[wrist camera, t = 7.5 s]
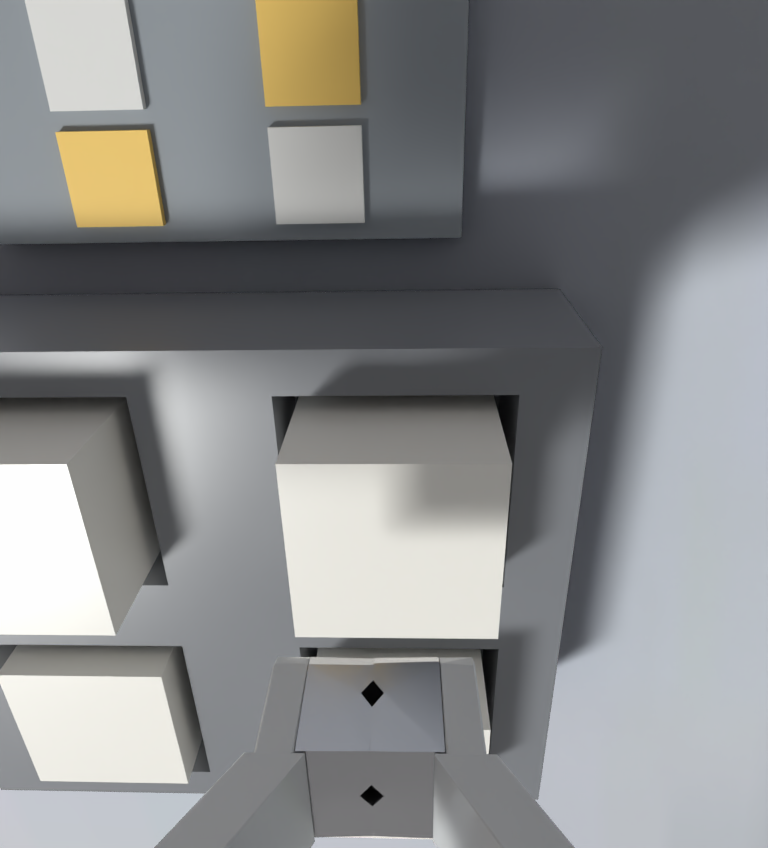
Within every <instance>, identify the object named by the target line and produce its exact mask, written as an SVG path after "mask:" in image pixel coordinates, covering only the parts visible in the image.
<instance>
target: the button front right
mask: <svg viewBox="0 0 768 848" xmlns="http://www.w3.org/2000/svg"><path fill="white" fill-rule="evenodd" d="M275 465H276V474H277V483H278V491H279V500H280V509H281V518H282V527H283V535H284V544H285V553H286V562H287V570H288V579H289V588H290V597H291V605H292V614H293V623H294V632H295V637H331V638H444V639H498V633H499V621H500V608H501V596H502V584H503V572H504V559H505V547H506V535H507V522H508V510H509V498H510V485H511V473H512V461H511V457H510V454H509V450H508V446H507V443H506V439H505V436H504V432H503V428H502V425H501V421H500V417H499V414H498V410H497V406H496V403H495V399H494V395H421V396H299V397H298V400H297V403H296V406H295V409H294V412H293V415H292V418H291V421H290V423H289V426H288V429H287V432H286V435H285V438H284V441H283V444H282V447H281V449H280V452H279V455H278V458H277V461H276V464H275Z"/></svg>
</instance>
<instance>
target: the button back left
mask: <svg viewBox="0 0 768 848" xmlns="http://www.w3.org/2000/svg"><path fill="white" fill-rule="evenodd" d="M0 685H1V687H2V690H3V692H4V695H5V697H6V699H7V702H8V704H9V707H10V709H11V711H12V714H13V716H14V719H15V721H16V723H17V726H18V728H19V731H20V733H21V735H22V738H23V740H24V743H25V745H26V747H27V750H28V752H29V755H30V757H31V759H32V762H33V764H34V767H35V769H36V771H37V774H38V776H39V779H40V781H66V782H123V783H179V784H188V783H189V779H190V776H191V773H192V770H193V767H194V763H195V760H196V757H197V754H198V751H199V747H200V744H201V741H202V738H203V737H202V732H201V728H200V723H199V719H198V715H197V710H196V706H195V701H194V697H193V692H192V688H191V683H190V679H189V675H188V670H187V666H186V661H185V657H184V652H183V648H182V646H103V645H17V646H16V648H15V649H14V651H13V652H12V653H11V655H10V656H9V658H8V659H7V661H6V662H5V664H4V665H3V666H2V668H1V669H0Z"/></svg>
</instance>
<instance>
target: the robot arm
mask: <svg viewBox="0 0 768 848" xmlns="http://www.w3.org/2000/svg"><path fill="white" fill-rule="evenodd" d="M349 836H385V837H410V838H433V843H434V844H435V846H436V848H575V847H574V846H573V845H572V844H571V843H570V841H569V840H568V839H567V838H566V837H565V835H564V834H563V833H562V832H561V831H560V829H559V828H558V827H557V826H556V825H555V823H554V822H553V821H552V820H551V819H550V817H549V816H548V815H547V814H546V813H545V811H544V810H543V809H542V808H541V807H540V805H539V804H538V803H537V802H536V801H535V799H534V798H533V797H532V796H531V795H530V793H529V792H528V791H527V790H526V789H525V787H524V786H523V785H522V784H521V783H520V781H519V780H518V779H517V778H516V777H515V775H514V774H513V773H512V772H511V771H510V769H509V768H508V767H507V766H506V765H505V763H504V762H503V761H502V760H501V759H500V757H499V756H498V755H497V754H487V753H486V745H485V738H484V730H483V722H482V715H481V707H480V699H479V692H478V684H477V677H476V669H475V663H474V661H473V659H472V657H458V658H439V659H438V657H420V658H375V659H365V658H330V657H278V658H277V659H276V661H275V663H274V665H273V669H272V674H271V678H270V683H269V687H268V692H267V696H266V701H265V705H264V710H263V714H262V719H261V723H260V728H259V732H258V737H257V741H256V746H255V750H254V752H253V753H243V754H242V755H241V756H240V757H239V758H238V760H237V761H236V762H235V763H234V764H233V765H232V766H231V767H230V768H229V769H228V770H227V771H226V772H225V773H224V774H223V775H222V776H221V778H220V779H219V780H218V781H217V782H216V783H215V784H214V785H213V786H212V787H211V788H210V789H209V790H208V791H207V792H206V793H205V794H204V796H203V797H202V798H201V799H200V800H199V801H198V802H197V803H196V804H195V805H194V806H193V807H192V808H191V809H190V810H189V811H188V813H187V814H186V815H185V816H184V817H183V818H182V819H181V820H180V821H179V822H178V823H177V824H176V825H175V826H174V827H173V828H172V829H171V831H170V832H169V833H168V834H167V835H166V836H165V837H164V838H163V839H162V840H161V841H160V842H159V843H158V844H157V845H156V846H155V847H154V848H311V846H312V845H313V843H314V842H315V840H314V837H349Z"/></svg>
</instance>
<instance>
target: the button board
mask: <svg viewBox="0 0 768 848" xmlns="http://www.w3.org/2000/svg"><path fill="white" fill-rule="evenodd" d="M601 352H602V346H601V345H600V344H599V342H598V341H597V340H596V338H595V337H594V335H593V334H592V333H591V331H590V330H589V329H588V327H587V326H586V325H585V323H584V322H583V320H582V319H581V318H580V316H579V315H578V314H577V312H576V311H575V310H574V308H573V307H572V305H571V304H570V303H569V301H568V300H567V299H566V297H565V296H564V295H563V293H562V292H561V290H560V289H513V290H426V291H339V292H252V293H165V294H78V295H0V398H46V397H126V399H127V403H128V408H129V412H130V416H131V421H132V425H133V430H134V434H135V439H136V443H137V448H138V452H139V457H140V461H141V465H142V470H143V474H144V479H145V483H146V488H147V492H148V497H149V501H150V505H151V510H152V514H153V519H154V523H155V528H156V532H157V537H158V541H159V546H160V550H161V551H160V552H159V554H158V556H157V558H156V560H155V562H154V564H153V566H152V568H151V570H150V571H149V573H148V575H147V577H146V579H145V581H144V583H143V585H142V587H141V589H140V590H139V592H138V594H137V596H136V598H135V600H134V602H133V604H132V606H131V607H130V609H129V611H128V613H127V615H126V617H125V619H124V621H123V623H122V625H121V626H120V628H119V630H118V632H117V634H116V636H106V635H0V669H1V668H2V666H3V665H4V664H5V662H6V661H7V659H8V658H9V656H10V655H11V653H12V652H13V651H14V649H15V648H16V646H17V645H103V646H182V648H183V652H184V657H185V661H186V666H187V670H188V675H189V679H190V683H191V688H192V692H193V697H194V701H195V706H196V710H197V715H198V719H199V723H200V728H201V732H202V737H203V738H202V741H201V744H200V747H199V751H198V754H197V757H196V760H195V763H194V767H193V770H192V773H191V776H190V779H189V783H188V784H179V783H123V782H66V781H40V779H39V776H38V774H37V771H36V769H35V767H34V764H33V762H32V759H31V757H30V755H29V752H28V750H27V747H26V745H25V743H24V740H23V738H22V735H21V733H20V731H19V728H18V726H17V723H16V721H15V719H14V716H13V714H12V711H11V709H10V707H9V704H8V702H7V699H6V697H5V695H4V692H3V690H2V687H1V685H0V788H1V790H43V791H98V792H153V793H206V792H207V791H208V790H209V789H210V788H211V787H212V786H213V785H214V784H215V783H216V782H217V781H218V780H219V779H220V778H221V776H222V775H223V774H224V773H225V772H226V771H227V770H228V769H229V768H230V767H231V766H232V765H233V764H234V763H235V762H236V761H237V760H238V758H239V757H240V756H241V755H242V754H243V753H253V752H254V750H255V746H256V741H257V737H258V732H259V728H260V723H261V719H262V714H263V710H264V705H265V701H266V696H267V692H268V687H269V683H270V678H271V674H272V669H273V665H274V663H275V661H276V659H277V658H278V657H317V651H318V648H419V649H480V651H481V659H482V667H483V674H484V682H485V690H486V698H487V706H488V714H489V721H490V729H491V731H490V744H489V754H497V755H498V756H499V757H500V759H501V760H502V761H503V762H504V763H505V765H506V766H507V767H508V768H509V769H510V771H511V772H512V773H513V774H514V775H515V777H516V778H517V779H518V780H519V781H520V783H521V784H522V785H523V786H524V787H525V789H526V790H527V791H528V792H529V793H530V795H531V796H532V797H533V798H534V799H538V796H539V789H540V782H541V775H542V768H543V761H544V754H545V747H546V740H547V733H548V726H549V719H550V712H551V705H552V698H553V691H554V684H555V676H556V669H557V662H558V655H559V648H560V641H561V634H562V627H563V620H564V613H565V606H566V599H567V592H568V585H569V578H570V571H571V564H572V557H573V550H574V543H575V535H576V528H577V521H578V514H579V507H580V500H581V493H582V486H583V479H584V472H585V465H586V458H587V451H588V444H589V437H590V430H591V423H592V416H593V409H594V402H595V394H596V387H597V380H598V373H599V366H600V359H601ZM421 395H494V399H495V403H496V406H497V410H498V414H499V417H500V421H501V425H502V428H503V432H504V436H505V439H506V443H507V446H508V450H509V454H510V457H511V461H512V473H511V485H510V498H509V510H508V522H507V535H506V547H505V559H504V572H503V584H502V596H501V608H500V621H499V633H498V639H444V638H331V637H295V632H294V623H293V614H292V605H291V597H290V588H289V579H288V570H287V562H286V553H285V544H284V535H283V527H282V518H281V509H280V500H279V491H278V483H277V474H276V465H275V464H276V461H277V458H278V455H279V452H280V449H281V447H282V444H283V441H284V438H285V435H286V432H287V429H288V426H289V423H290V421H291V418H292V415H293V412H294V409H295V406H296V403H297V400H298V397H299V396H421Z"/></svg>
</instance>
